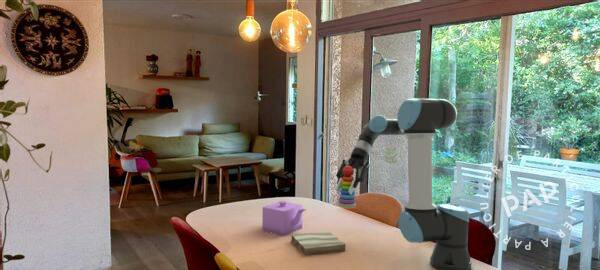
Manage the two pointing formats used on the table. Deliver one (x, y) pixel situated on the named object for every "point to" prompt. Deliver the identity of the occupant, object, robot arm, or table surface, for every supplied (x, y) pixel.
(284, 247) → the table surface
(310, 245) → the wooden square board
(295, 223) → the teapot
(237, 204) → the table surface
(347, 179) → the stacking toy
